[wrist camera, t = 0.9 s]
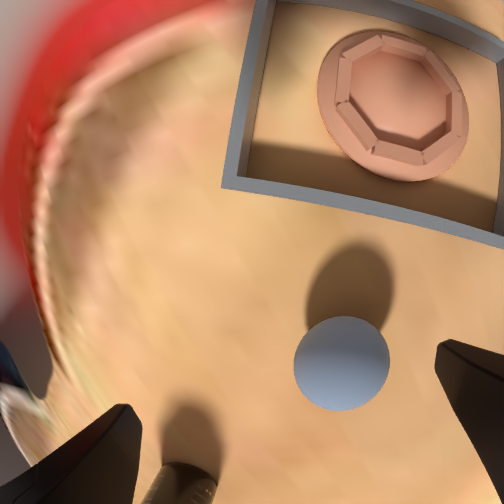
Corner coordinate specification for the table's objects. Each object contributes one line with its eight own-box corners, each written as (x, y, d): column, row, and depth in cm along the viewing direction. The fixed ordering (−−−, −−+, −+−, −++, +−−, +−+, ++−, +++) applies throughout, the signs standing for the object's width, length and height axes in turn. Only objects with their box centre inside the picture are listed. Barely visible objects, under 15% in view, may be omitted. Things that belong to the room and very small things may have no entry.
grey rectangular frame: (502, 59, 13) (516, 49, 10) (497, 247, 16) (515, 253, 14) (267, -6, 16) (261, -25, 13) (231, 189, 19) (220, 188, 17)
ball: (389, 309, 18) (416, 350, 13) (364, 381, 20) (376, 433, 14) (306, 295, 19) (305, 334, 14) (288, 369, 21) (279, 422, 15)
